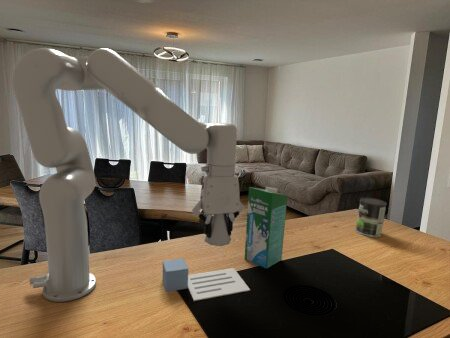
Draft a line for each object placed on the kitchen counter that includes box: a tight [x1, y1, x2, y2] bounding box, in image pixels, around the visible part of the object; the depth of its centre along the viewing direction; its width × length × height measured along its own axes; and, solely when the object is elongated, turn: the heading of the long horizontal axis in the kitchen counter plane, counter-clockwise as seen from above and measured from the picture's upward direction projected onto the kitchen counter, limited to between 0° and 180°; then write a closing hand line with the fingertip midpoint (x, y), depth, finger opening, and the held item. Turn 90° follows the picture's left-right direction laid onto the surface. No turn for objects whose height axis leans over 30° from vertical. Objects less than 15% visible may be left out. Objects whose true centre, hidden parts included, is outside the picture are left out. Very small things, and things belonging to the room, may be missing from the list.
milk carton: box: [244, 186, 288, 270], centre depth 98 cm, size 9×9×25 cm
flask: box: [203, 214, 232, 247], centre depth 82 cm, size 7×7×10 cm
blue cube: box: [162, 258, 189, 293], centre depth 83 cm, size 6×6×6 cm
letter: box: [187, 267, 251, 302], centre depth 85 cm, size 16×12×1 cm
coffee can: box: [355, 197, 387, 238], centre depth 127 cm, size 10×10×14 cm
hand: (218, 234), depth 82 cm, fingers closed on flask, 5 cm apart
